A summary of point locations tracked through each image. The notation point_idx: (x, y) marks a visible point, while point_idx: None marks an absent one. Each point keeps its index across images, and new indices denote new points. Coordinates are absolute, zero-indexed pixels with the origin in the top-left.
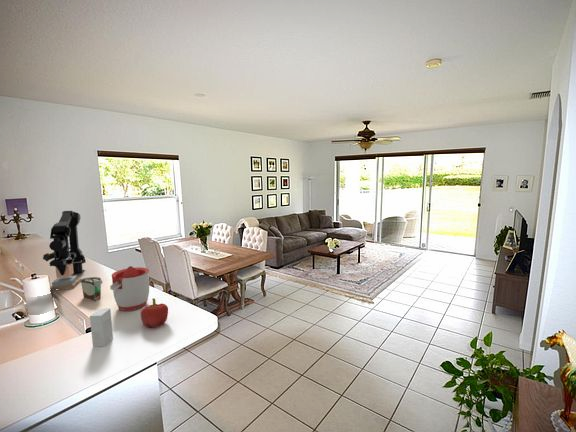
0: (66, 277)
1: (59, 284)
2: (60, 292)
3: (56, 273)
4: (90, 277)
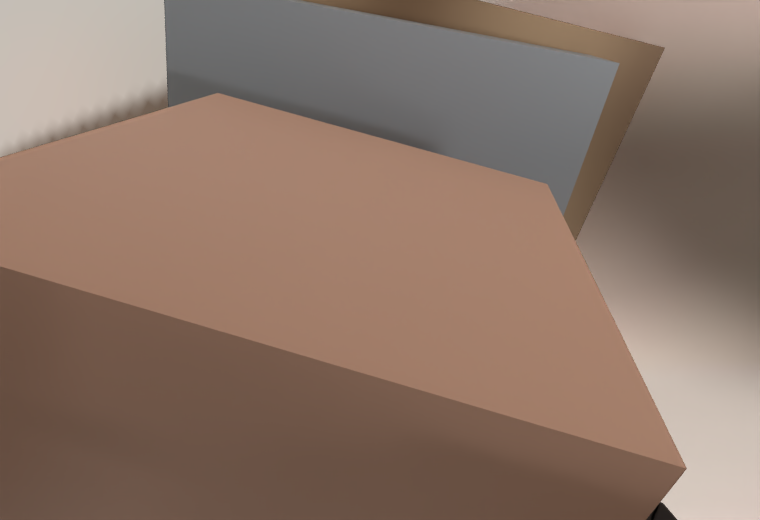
0: None
1: None
2: (81, 132)
3: (130, 129)
4: None
